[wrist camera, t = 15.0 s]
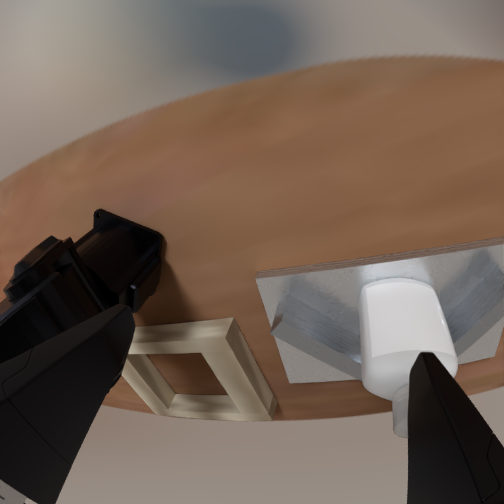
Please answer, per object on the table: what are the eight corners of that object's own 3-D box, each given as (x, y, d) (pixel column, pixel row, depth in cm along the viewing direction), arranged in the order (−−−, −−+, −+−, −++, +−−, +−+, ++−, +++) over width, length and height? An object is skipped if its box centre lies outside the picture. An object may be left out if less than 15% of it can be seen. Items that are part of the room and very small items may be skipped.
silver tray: (258, 271, 24) (245, 305, 20) (514, 234, 17) (539, 263, 14) (291, 375, 29) (284, 408, 25) (491, 348, 22) (502, 380, 19)
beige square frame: (163, 399, 37) (155, 414, 35) (109, 328, 32) (97, 343, 30) (277, 402, 32) (272, 420, 29) (233, 317, 26) (225, 337, 24)
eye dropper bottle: (384, 255, 20) (412, 417, 9) (442, 291, 20) (486, 437, 10) (348, 300, 22) (344, 457, 12) (405, 330, 22) (422, 473, 12)
